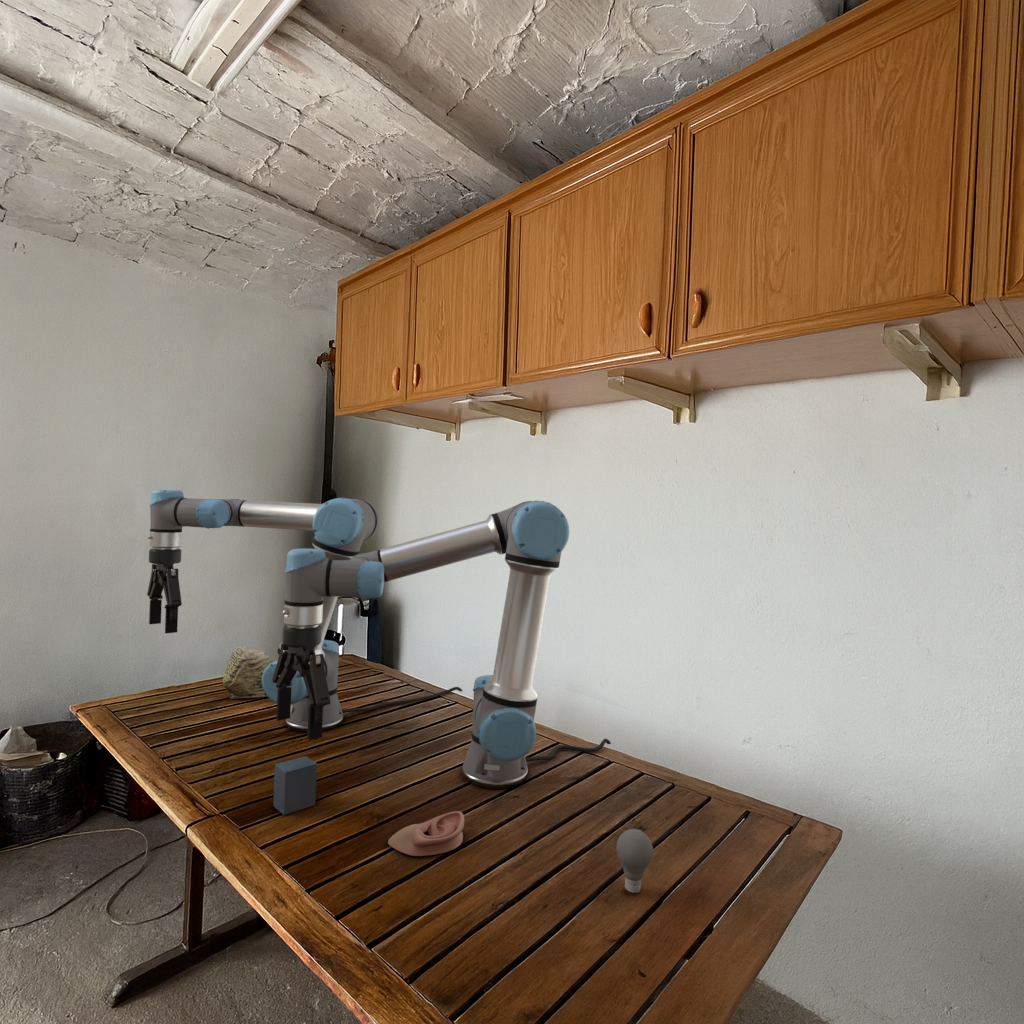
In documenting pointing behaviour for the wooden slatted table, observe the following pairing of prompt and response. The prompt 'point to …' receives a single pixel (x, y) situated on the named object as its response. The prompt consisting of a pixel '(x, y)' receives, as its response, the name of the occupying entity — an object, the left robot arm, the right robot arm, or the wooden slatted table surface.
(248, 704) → the wooden slatted table surface
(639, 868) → the light bulb
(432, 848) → the anatomical model
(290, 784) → the brick
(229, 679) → the fossil
